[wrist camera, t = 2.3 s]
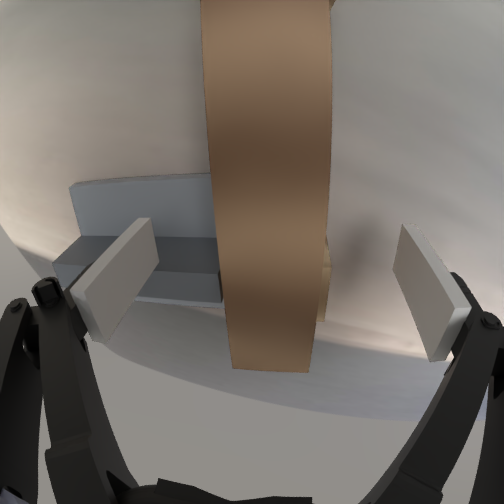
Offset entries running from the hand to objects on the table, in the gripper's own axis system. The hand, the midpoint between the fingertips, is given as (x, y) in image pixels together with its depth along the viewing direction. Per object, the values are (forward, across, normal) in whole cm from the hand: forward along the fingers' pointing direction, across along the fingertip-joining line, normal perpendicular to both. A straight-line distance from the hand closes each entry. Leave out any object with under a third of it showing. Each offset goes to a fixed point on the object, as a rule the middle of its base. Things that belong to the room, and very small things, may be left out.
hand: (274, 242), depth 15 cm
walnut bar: (0, 0, +5) cm, 5 cm away
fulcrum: (+4, -9, -3) cm, 10 cm away
